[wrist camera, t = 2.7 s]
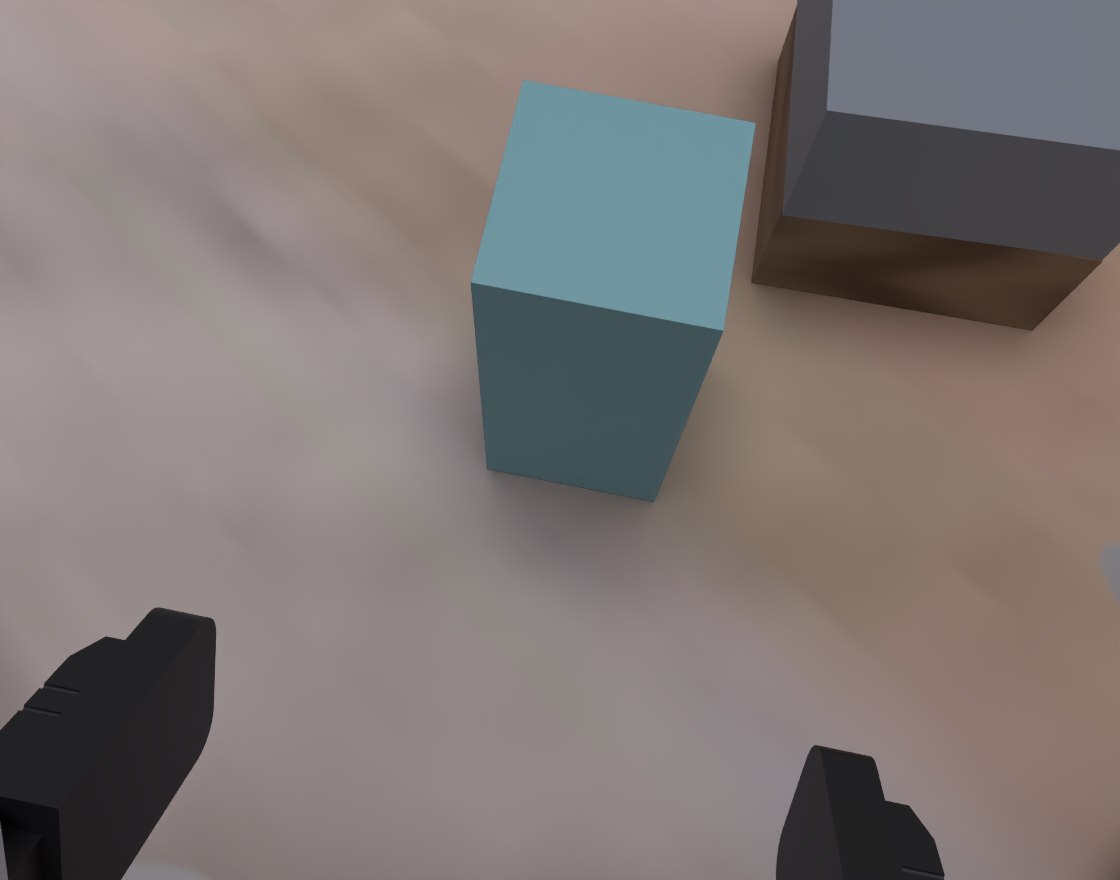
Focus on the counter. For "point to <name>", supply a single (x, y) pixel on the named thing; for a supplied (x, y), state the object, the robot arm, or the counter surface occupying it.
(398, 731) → the counter surface
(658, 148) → the teal block
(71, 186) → the counter surface
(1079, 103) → the top slab
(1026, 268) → the bottom slab
